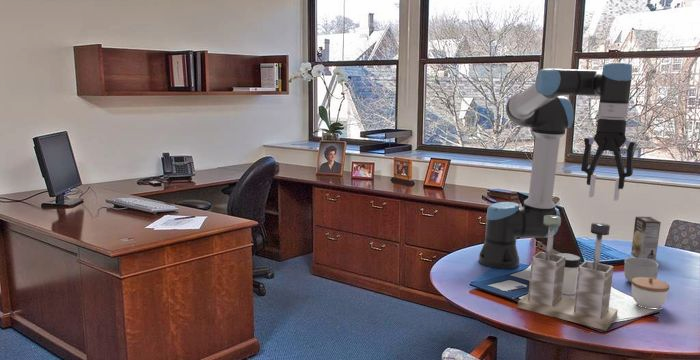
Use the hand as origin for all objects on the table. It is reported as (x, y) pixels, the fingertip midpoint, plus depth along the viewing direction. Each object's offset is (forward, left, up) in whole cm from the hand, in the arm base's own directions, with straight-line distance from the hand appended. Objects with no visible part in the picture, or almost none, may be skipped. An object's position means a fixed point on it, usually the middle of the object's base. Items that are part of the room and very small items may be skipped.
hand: (603, 197), depth 169 cm
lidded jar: (+12, +22, -37) cm, 45 cm away
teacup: (+5, +45, -37) cm, 59 cm away
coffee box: (+1, +79, -37) cm, 87 cm away
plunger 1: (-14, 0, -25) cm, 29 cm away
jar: (-13, +18, -37) cm, 43 cm away
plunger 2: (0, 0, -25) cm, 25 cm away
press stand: (-7, 0, -37) cm, 38 cm away
